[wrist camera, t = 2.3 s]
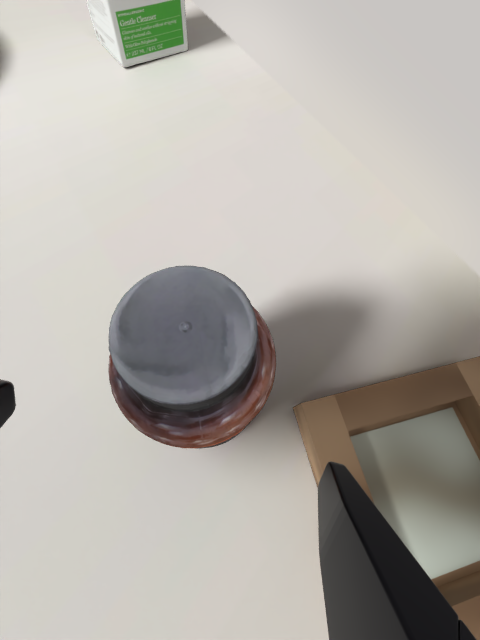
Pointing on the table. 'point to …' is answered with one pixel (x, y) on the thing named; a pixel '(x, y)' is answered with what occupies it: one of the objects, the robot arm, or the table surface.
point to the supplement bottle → (189, 357)
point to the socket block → (414, 466)
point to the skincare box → (139, 28)
